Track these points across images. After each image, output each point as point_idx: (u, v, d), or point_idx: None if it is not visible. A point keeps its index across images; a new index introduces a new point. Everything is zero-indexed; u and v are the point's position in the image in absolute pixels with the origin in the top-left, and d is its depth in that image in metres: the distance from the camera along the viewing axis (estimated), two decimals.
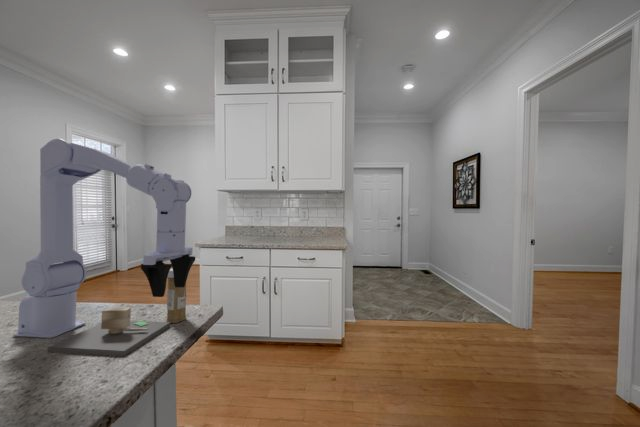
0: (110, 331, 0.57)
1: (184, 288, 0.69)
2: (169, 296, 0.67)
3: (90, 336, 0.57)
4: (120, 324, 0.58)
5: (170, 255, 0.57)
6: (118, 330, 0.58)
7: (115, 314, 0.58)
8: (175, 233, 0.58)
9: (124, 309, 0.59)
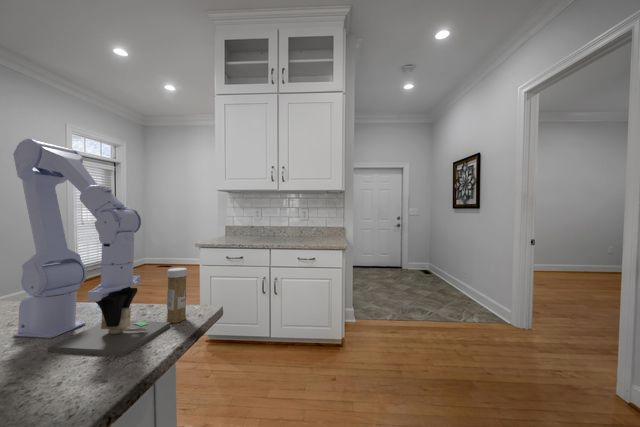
0: (110, 331, 0.57)
1: (184, 288, 0.69)
2: (169, 296, 0.67)
3: (90, 336, 0.57)
4: (120, 324, 0.58)
5: (117, 288, 0.56)
6: (118, 330, 0.58)
7: None
8: (123, 265, 0.57)
9: (124, 309, 0.59)
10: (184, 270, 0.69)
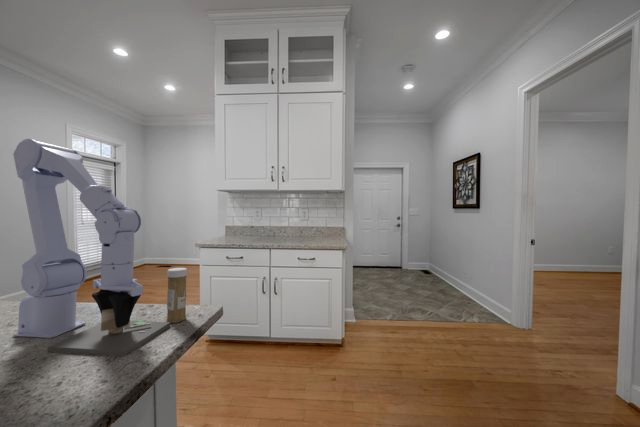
0: (113, 331, 0.57)
1: (184, 288, 0.69)
2: (169, 296, 0.67)
3: (90, 336, 0.57)
4: None
5: None
6: (121, 329, 0.59)
7: None
8: None
9: None
10: (184, 270, 0.69)
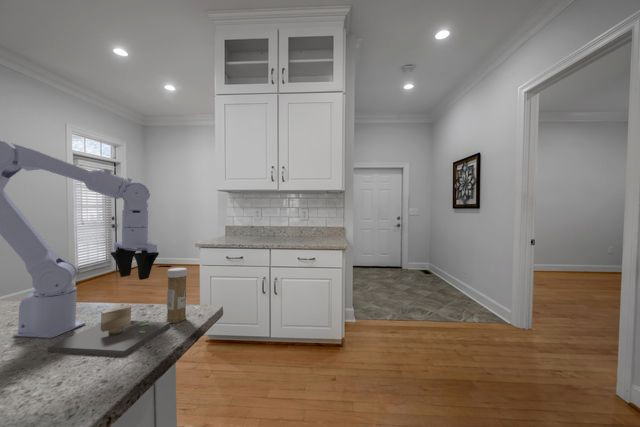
0: (115, 331, 0.58)
1: (184, 288, 0.69)
2: (169, 296, 0.67)
3: (90, 336, 0.57)
4: (124, 322, 0.59)
5: None
6: (122, 328, 0.59)
7: (119, 313, 0.58)
8: (147, 228, 0.73)
9: (126, 307, 0.60)
10: (184, 270, 0.69)
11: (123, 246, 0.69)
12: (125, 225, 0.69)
